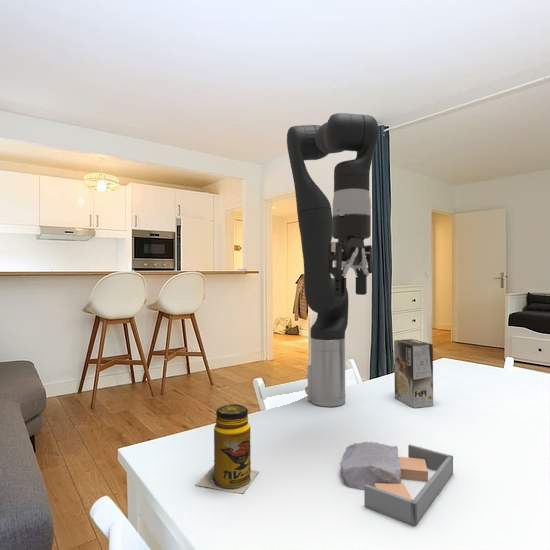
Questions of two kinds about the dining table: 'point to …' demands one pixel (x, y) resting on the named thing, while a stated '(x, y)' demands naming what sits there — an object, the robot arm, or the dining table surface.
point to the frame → (418, 506)
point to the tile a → (394, 489)
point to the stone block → (370, 465)
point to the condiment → (230, 451)
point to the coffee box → (413, 372)
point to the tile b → (413, 469)
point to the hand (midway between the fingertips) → (351, 295)
